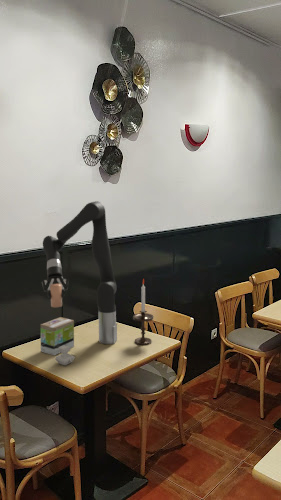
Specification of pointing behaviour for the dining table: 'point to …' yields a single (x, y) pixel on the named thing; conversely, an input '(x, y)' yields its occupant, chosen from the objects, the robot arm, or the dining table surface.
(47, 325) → the tea box
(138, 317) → the candlestick
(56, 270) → the robot arm
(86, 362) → the dining table surface
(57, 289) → the tan rounded cylinder
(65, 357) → the white lumpy piece
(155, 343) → the dining table surface
